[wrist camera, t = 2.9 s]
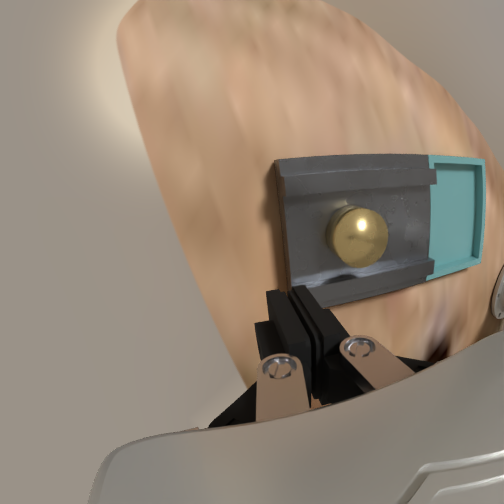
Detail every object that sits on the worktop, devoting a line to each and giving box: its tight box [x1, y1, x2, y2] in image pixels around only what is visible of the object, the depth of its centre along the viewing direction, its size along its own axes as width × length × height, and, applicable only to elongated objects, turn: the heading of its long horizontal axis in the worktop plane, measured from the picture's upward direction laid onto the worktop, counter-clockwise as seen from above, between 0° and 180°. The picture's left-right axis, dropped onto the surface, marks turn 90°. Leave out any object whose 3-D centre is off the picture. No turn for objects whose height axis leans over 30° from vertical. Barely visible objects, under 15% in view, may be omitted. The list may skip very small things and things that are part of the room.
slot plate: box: [274, 154, 437, 308], centre depth 24 cm, size 16×14×3 cm
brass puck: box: [326, 205, 388, 268], centre depth 23 cm, size 5×5×2 cm
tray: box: [426, 155, 486, 281], centre depth 26 cm, size 12×14×2 cm
